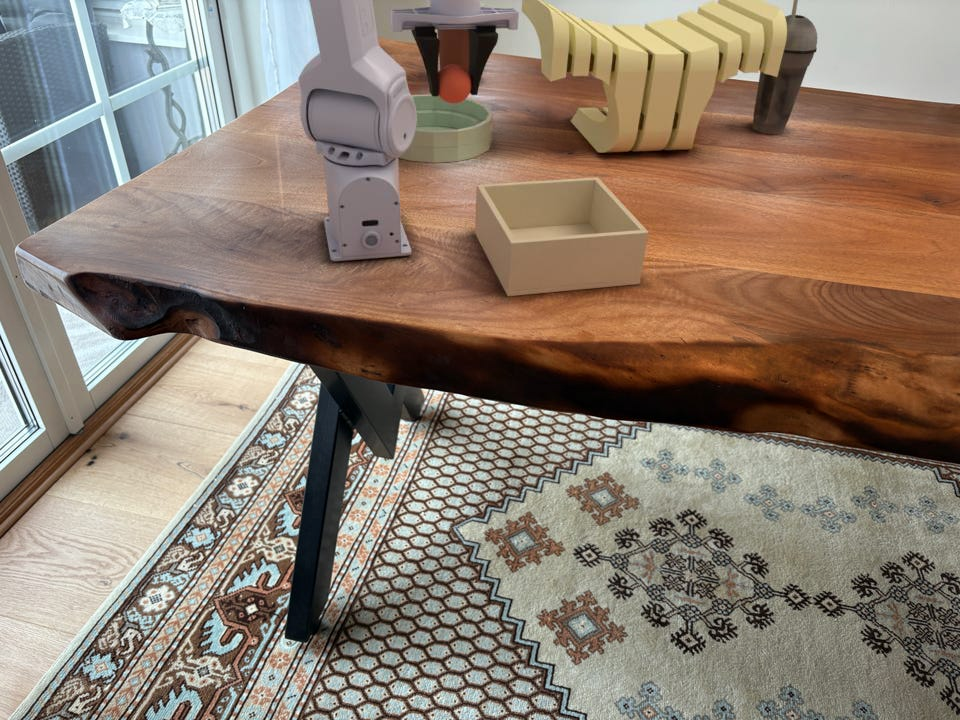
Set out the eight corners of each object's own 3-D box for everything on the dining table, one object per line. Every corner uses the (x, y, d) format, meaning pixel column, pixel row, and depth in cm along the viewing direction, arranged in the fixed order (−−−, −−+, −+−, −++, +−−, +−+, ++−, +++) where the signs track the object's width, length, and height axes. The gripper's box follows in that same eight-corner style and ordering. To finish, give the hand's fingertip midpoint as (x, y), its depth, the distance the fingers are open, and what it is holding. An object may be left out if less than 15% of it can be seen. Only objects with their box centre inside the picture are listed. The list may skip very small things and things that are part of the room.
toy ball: (475, 107, 92) (476, 69, 89) (438, 109, 91) (439, 70, 88) (466, 96, 95) (467, 59, 92) (431, 97, 94) (431, 60, 92)
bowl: (503, 163, 98) (505, 129, 95) (384, 170, 95) (383, 134, 92) (475, 124, 110) (476, 92, 107) (369, 129, 107) (368, 96, 104)
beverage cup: (804, 135, 111) (848, -17, 100) (764, 139, 109) (803, -15, 97) (771, 119, 117) (809, -27, 105) (732, 123, 115) (766, -25, 103)
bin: (639, 284, 74) (649, 232, 71) (507, 296, 71) (511, 242, 68) (591, 224, 84) (598, 177, 81) (474, 233, 81) (476, 184, 78)
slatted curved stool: (543, 163, 98) (556, 14, 88) (514, 122, 111) (522, -12, 101) (757, 155, 104) (793, 13, 94) (706, 116, 117) (733, -12, 106)
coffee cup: (421, 80, 127) (420, 1, 120) (457, 70, 132) (459, -6, 125) (462, 92, 122) (464, 11, 115) (498, 81, 128) (502, 3, 121)
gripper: (509, -38, 89) (503, 81, 97) (384, -39, 86) (388, 85, 94) (527, -28, 83) (518, 98, 91) (394, -28, 80) (397, 103, 88)
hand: (453, 93), depth 92 cm, fingers closed on toy ball, 4 cm apart
